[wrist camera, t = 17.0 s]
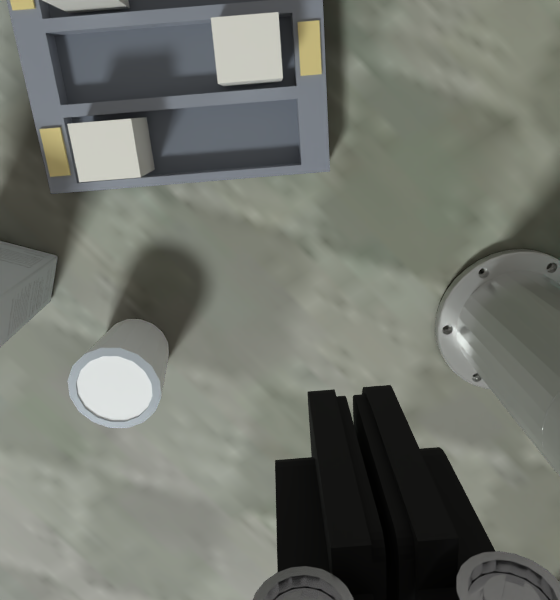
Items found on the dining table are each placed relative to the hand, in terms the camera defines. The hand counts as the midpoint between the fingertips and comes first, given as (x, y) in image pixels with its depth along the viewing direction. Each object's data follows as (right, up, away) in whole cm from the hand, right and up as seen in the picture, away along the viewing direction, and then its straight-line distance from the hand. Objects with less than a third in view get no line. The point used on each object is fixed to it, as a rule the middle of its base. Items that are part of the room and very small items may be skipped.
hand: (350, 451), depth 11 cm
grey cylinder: (-14, -1, +35) cm, 37 cm away
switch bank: (-9, +20, +27) cm, 34 cm away
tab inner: (-13, +14, +27) cm, 33 cm away
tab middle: (-4, +20, +25) cm, 32 cm away
